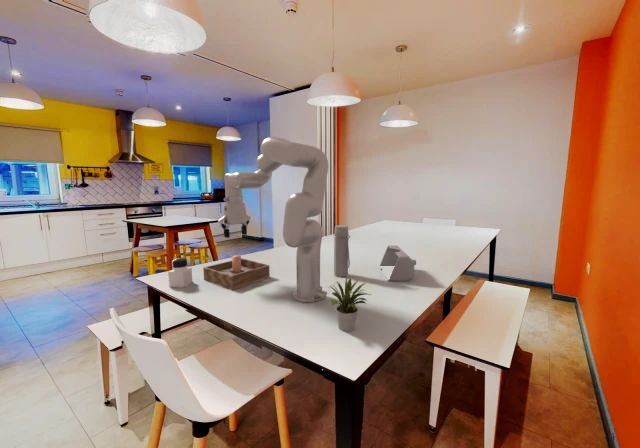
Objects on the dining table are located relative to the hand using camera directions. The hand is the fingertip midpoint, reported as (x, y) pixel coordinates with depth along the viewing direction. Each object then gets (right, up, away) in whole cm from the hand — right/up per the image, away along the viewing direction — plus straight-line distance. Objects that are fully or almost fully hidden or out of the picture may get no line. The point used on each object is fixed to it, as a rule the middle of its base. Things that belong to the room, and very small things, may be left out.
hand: (235, 235), depth 135 cm
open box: (0, -21, +3) cm, 21 cm away
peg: (0, -20, +3) cm, 20 cm away
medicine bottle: (-23, -22, -5) cm, 33 cm away
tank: (+81, -20, +10) cm, 84 cm away
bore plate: (0, -21, +3) cm, 21 cm away
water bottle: (+51, -20, +7) cm, 56 cm away
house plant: (+48, -28, -45) cm, 72 cm away
